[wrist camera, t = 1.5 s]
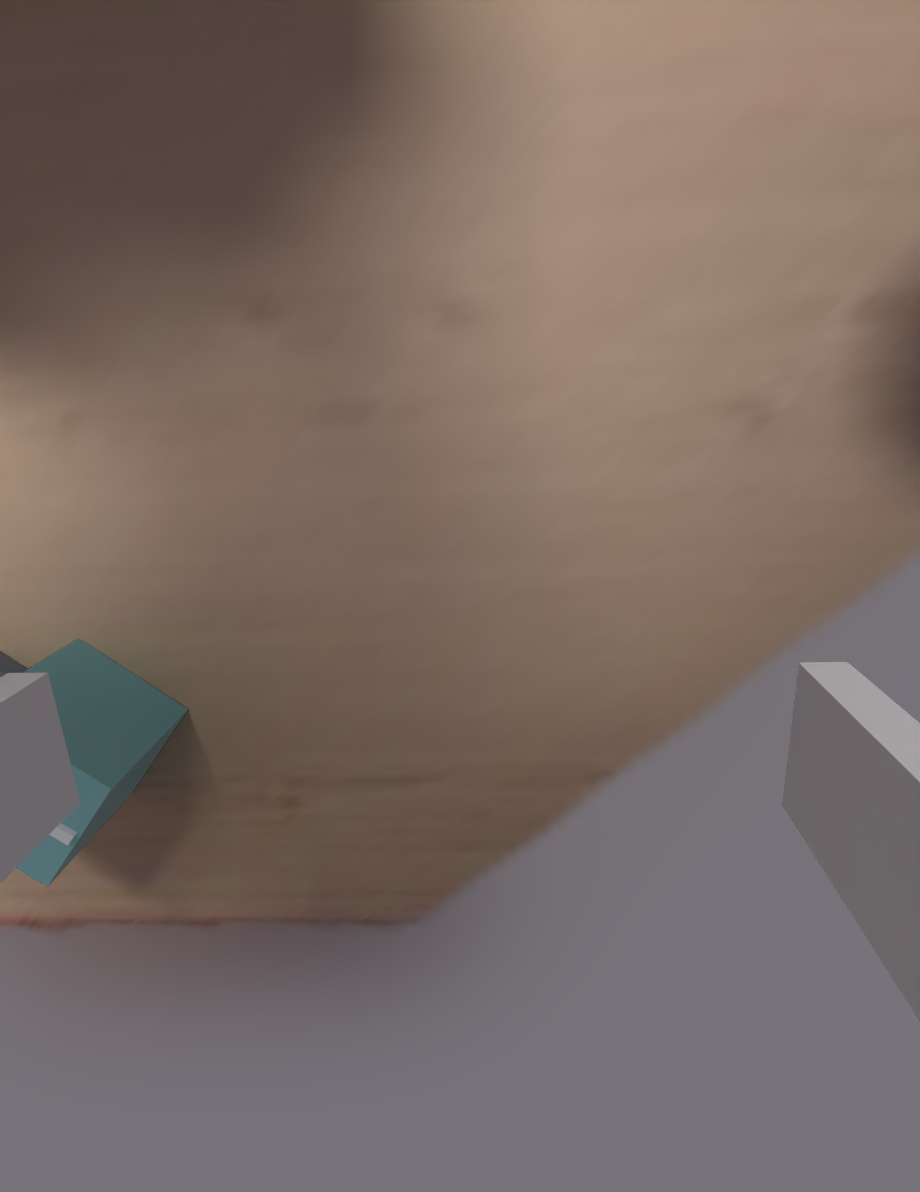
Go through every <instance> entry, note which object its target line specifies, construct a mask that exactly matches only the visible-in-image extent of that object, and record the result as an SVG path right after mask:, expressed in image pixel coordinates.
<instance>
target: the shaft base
mask: <svg viewBox="0 0 920 1192" xmlns="http://www.w3.org/2000/svg"><path fill="white" fill-rule="evenodd" d="M26 670H27V668H26V667H24V666H22V665H21V664H19V663H18V662H16V661H15V660H13V659H11V658H10V657H8V656H7V655H5V654H3V653H2V652H0V677H2V676H4V675H5V674H7V673H23V672H24V671H26Z"/></svg>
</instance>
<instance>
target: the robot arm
mask: <svg viewBox="0 0 920 1192" xmlns="http://www.w3.org/2000/svg"><path fill="white" fill-rule="evenodd" d="M80 803H81V802H80V798H79V794H78V790H77V786H76V782H75V778H74V774H73V770H72V766H71V763H70V759H69V755H68V751H67V747H66V743H65V739H64V735H63V731H62V727H61V723H60V719H59V715H58V711H57V707H56V703H55V699H54V695H53V691H52V687H51V683H50V679H49V675H48V673H7V674H5V675H4V676H2V677H0V883H1V882H2V881H3V880H4V879H5V878H6V877H7V876H8V875H9V874H10V873H11V872H12V871H13V870H14V869H15V868H16V867H17V866H18V865H19V864H20V863H21V862H22V861H23V860H24V859H25V858H26V857H27V856H28V855H29V854H30V853H31V852H32V851H33V850H34V849H35V848H36V847H37V846H38V845H39V844H40V843H41V842H42V841H43V840H44V839H45V838H46V837H47V836H48V835H49V834H50V833H51V832H52V831H53V830H54V829H55V828H56V827H57V826H58V825H59V824H60V823H61V822H62V821H63V820H64V819H65V818H66V817H67V816H68V815H69V814H70V813H71V812H72V811H73V810H74V809H75V808H76V807H77V806H78V805H79V804H80ZM782 806H783V807H784V809H785V811H786V812H787V814H788V815H789V817H790V818H791V820H792V822H793V823H794V825H795V826H796V828H797V829H798V831H799V832H800V834H801V836H802V837H803V839H804V840H805V842H806V844H807V845H808V847H809V848H810V850H811V851H812V853H813V855H814V856H815V858H816V859H817V861H818V862H819V864H820V866H821V867H822V869H823V870H824V872H825V873H826V875H827V877H828V878H829V880H830V881H831V883H832V884H833V886H834V887H835V889H836V891H837V892H838V894H839V895H840V897H841V899H842V900H843V902H844V903H845V905H846V906H847V908H848V910H849V911H850V913H851V914H852V916H853V917H854V919H855V921H856V922H857V924H858V925H859V927H860V928H861V930H862V931H863V933H864V935H865V936H866V938H867V939H868V941H869V943H870V944H871V946H872V947H873V949H874V950H875V952H876V953H877V955H878V957H879V958H880V960H881V961H882V963H883V965H884V966H885V967H886V969H887V971H888V972H889V974H890V976H891V977H892V979H893V980H894V982H895V983H896V985H897V987H898V988H899V990H900V991H901V993H902V994H903V996H904V998H905V999H906V1001H907V1002H908V1003H909V1005H910V1007H911V1008H912V1010H913V1012H914V1013H915V1015H916V1016H917V1018H918V1019H919V1021H920V723H918V722H917V721H916V720H915V719H913V717H911V716H910V715H909V714H908V713H907V712H905V711H904V710H903V709H902V708H901V707H899V706H898V705H897V704H896V703H895V702H894V701H892V700H891V699H890V698H889V697H888V696H887V695H885V694H884V693H883V692H882V691H881V690H879V689H878V688H877V687H876V686H875V685H874V684H872V683H871V682H870V681H869V680H867V679H866V678H865V677H864V676H863V675H862V674H860V673H859V672H858V671H857V670H856V669H855V668H853V667H852V666H851V665H850V664H849V663H848V662H812V663H799V665H798V674H797V683H796V691H795V699H794V709H793V716H792V725H791V734H790V742H789V750H788V759H787V767H786V776H785V784H784V793H783V801H782Z"/></svg>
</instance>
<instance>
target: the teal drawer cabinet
mask: <svg viewBox="0 0 920 1192" xmlns="http://www.w3.org/2000/svg"><path fill="white" fill-rule="evenodd" d="M23 673H48V675H49V679H50V683H51V687H52V691H53V695H54V699H55V703H56V707H57V711H58V715H59V719H60V723H61V727H62V731H63V735H64V739H65V743H66V747H67V751H68V755H69V759H70V763H71V766H72V770H73V774H74V778H75V782H76V786H77V790H78V794H79V798H80V802H81V803H80V804H79V805H78V806H77V807H76V808H75V809H74V810H73V811H72V812H71V813H70V814H69V815H68V816H67V817H66V818H65V819H64V820H63V821H62V822H61V823H60V824H59V825H58V826H57V827H56V828H55V829H54V830H53V831H52V832H51V833H50V834H49V835H48V836H47V837H46V838H45V839H44V840H43V841H42V842H41V843H40V844H39V845H38V846H37V847H36V848H35V849H34V850H33V851H32V852H31V853H30V854H29V855H28V856H27V857H26V858H25V859H24V860H23V861H22V862H21V863H20V864H19V865H18V866H17V867H16V868H17V869H19V870H20V871H22V872H24V873H25V874H27V875H29V876H30V877H32V878H34V879H35V880H37V881H39V882H41V883H42V884H44V885H46V886H47V887H48V886H49V885H50V883H51V882H52V881H53V880H54V879H55V878H56V877H57V876H58V875H59V874H60V872H61V871H62V870H63V869H64V868H65V867H66V866H67V865H68V864H69V862H70V861H71V860H72V859H73V858H74V857H75V856H76V855H77V854H78V852H79V851H80V850H81V849H82V848H83V847H84V846H85V845H86V844H87V843H88V841H89V840H90V839H91V838H92V837H93V836H94V835H95V834H96V833H97V831H98V830H99V829H100V828H101V827H102V826H103V825H104V824H105V823H106V822H107V820H108V819H109V818H110V817H111V816H112V815H113V814H114V813H115V812H116V810H117V809H118V808H119V807H120V806H121V805H122V804H123V803H124V802H125V800H126V799H127V798H128V797H129V796H130V795H131V794H132V793H133V791H134V790H135V788H136V787H137V785H138V784H139V782H140V781H141V779H142V778H143V776H144V775H145V773H146V772H147V770H148V769H149V767H150V766H151V764H152V763H153V761H154V760H155V758H156V757H157V755H158V754H159V752H160V751H161V749H162V748H163V746H164V745H165V743H166V742H167V740H168V739H169V737H170V736H171V734H172V733H173V731H174V730H175V728H176V727H177V725H178V724H179V722H180V721H181V719H182V718H183V716H184V715H185V713H186V712H187V710H188V709H187V708H185V707H184V706H182V705H180V704H179V703H177V702H176V701H174V700H173V699H171V698H170V697H168V696H167V695H165V694H163V693H162V692H160V691H159V690H157V689H156V688H154V687H153V686H151V685H150V684H148V683H147V682H145V681H143V680H142V679H140V678H139V677H137V676H136V675H134V674H133V673H131V672H130V671H128V670H126V669H125V668H123V667H122V666H120V665H119V664H117V663H116V662H114V661H113V660H111V659H109V658H108V657H106V656H105V655H103V654H102V653H100V652H99V651H97V650H96V649H94V648H93V647H91V646H89V645H88V644H86V643H85V642H83V641H82V640H80V639H79V638H78V639H77V640H75V641H73V642H72V643H70V644H68V645H67V646H65V647H64V648H62V649H60V650H59V651H57V652H55V653H54V654H52V655H50V656H49V657H47V658H45V659H44V660H42V661H41V662H39V663H37V664H36V665H34V666H32V667H31V668H29V669H27V670H26V671H24V672H23Z"/></svg>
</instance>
